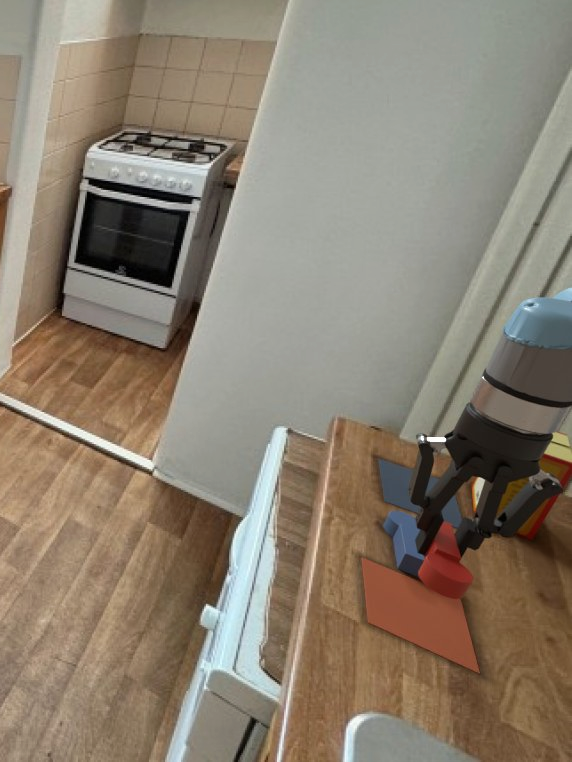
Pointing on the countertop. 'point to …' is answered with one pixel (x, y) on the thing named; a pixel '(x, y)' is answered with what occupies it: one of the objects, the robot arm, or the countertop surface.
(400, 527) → the blue t-shaped piece
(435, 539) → the red keyhole-shaped block
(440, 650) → the terracotta mat
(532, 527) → the baking soda box
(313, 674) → the countertop surface
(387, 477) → the slate mat
